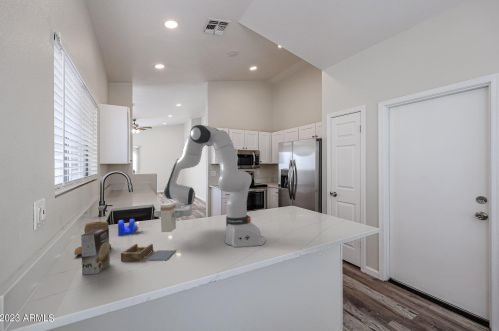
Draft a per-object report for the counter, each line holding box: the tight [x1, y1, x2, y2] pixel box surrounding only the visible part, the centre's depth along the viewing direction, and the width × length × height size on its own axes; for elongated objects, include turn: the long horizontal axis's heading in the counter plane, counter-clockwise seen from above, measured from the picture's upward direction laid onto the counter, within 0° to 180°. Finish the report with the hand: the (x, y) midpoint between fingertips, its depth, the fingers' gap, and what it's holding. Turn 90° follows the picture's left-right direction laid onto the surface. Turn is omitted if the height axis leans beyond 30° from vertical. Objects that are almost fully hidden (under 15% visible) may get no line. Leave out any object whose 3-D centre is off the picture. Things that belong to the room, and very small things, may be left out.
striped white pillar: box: [159, 202, 177, 233], centre depth 121 cm, size 5×7×14 cm
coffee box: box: [80, 228, 111, 276], centre depth 96 cm, size 9×6×16 cm
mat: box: [146, 249, 176, 262], centre depth 109 cm, size 9×11×1 cm
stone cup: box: [73, 220, 112, 256], centre depth 117 cm, size 15×12×15 cm
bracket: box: [117, 218, 138, 237], centre depth 151 cm, size 18×8×9 cm, turn 17°
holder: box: [120, 243, 154, 262], centre depth 109 cm, size 9×12×4 cm
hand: (167, 215), depth 120 cm, fingers closed on striped white pillar, 5 cm apart
